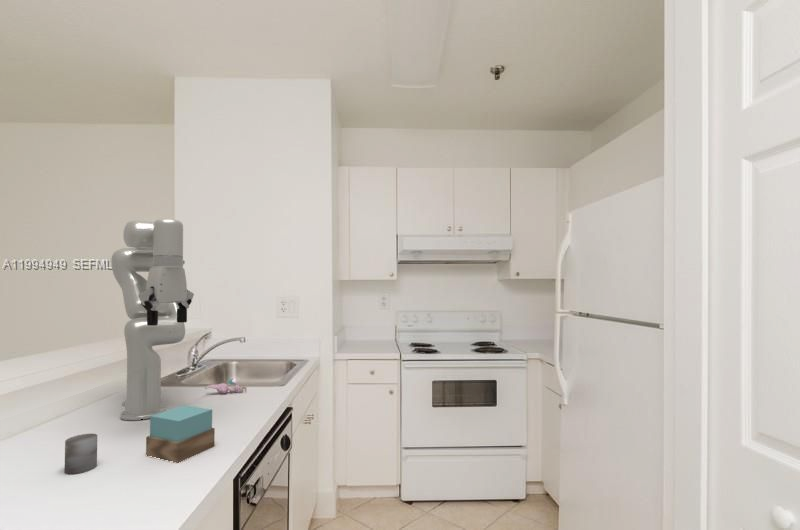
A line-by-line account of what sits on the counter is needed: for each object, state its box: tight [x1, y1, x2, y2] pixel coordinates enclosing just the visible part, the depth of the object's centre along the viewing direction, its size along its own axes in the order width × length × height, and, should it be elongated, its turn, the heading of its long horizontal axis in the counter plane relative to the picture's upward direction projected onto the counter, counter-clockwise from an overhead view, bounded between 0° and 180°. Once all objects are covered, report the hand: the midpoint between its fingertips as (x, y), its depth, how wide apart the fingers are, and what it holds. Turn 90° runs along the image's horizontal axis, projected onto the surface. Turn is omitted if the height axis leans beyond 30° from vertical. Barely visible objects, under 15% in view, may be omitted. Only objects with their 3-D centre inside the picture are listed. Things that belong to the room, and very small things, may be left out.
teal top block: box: [149, 404, 213, 442], centre depth 108 cm, size 10×10×5 cm
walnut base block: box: [145, 427, 216, 464], centre depth 108 cm, size 11×11×5 cm
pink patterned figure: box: [204, 378, 248, 395], centre depth 164 cm, size 6×6×15 cm
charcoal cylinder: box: [64, 433, 98, 476], centre depth 98 cm, size 6×6×7 cm
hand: (167, 323), depth 119 cm, fingers open, 9 cm apart
